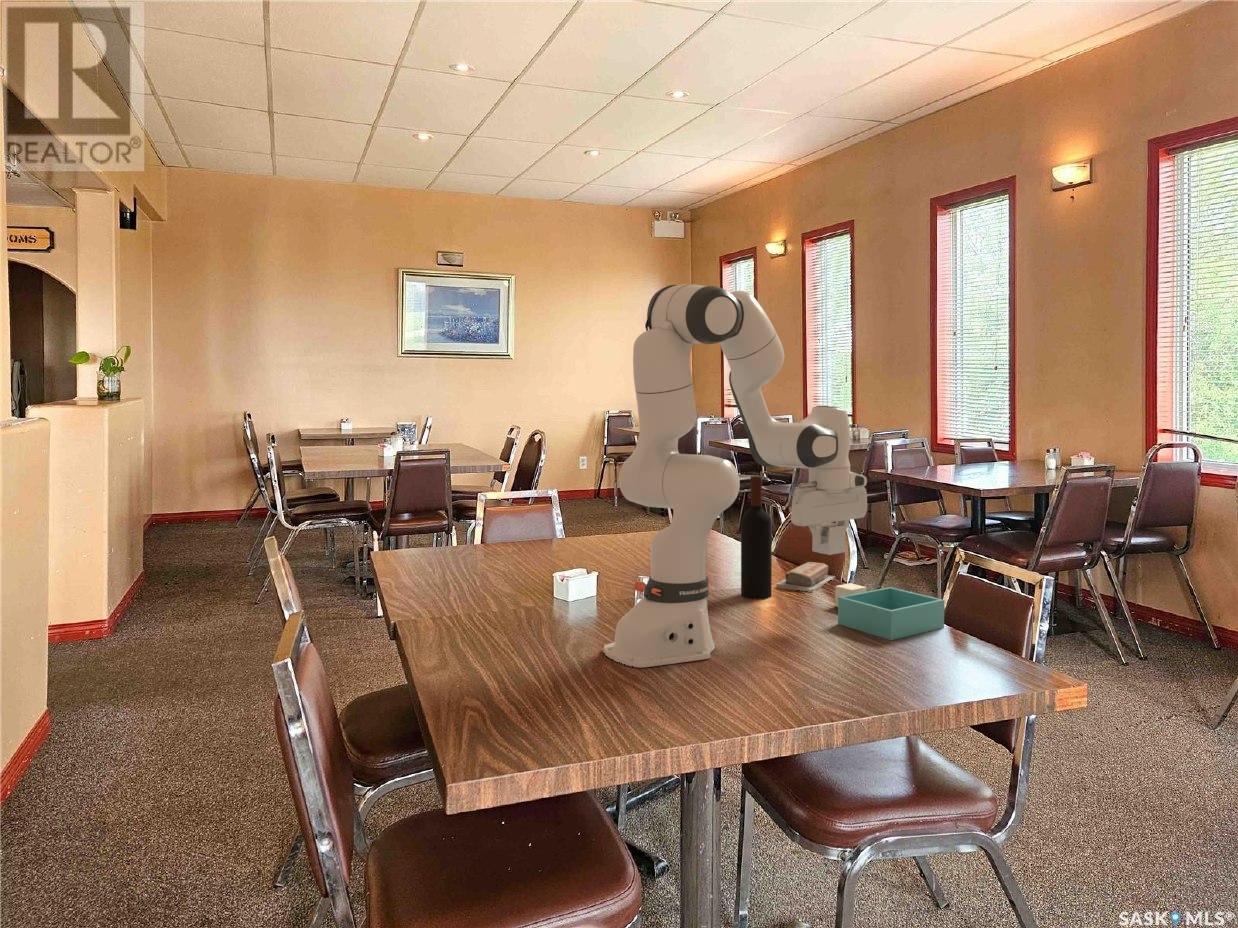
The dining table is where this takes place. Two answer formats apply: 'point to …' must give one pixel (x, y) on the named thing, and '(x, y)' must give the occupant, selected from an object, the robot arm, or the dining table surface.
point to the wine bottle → (756, 547)
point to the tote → (891, 612)
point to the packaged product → (806, 577)
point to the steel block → (831, 539)
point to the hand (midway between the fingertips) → (829, 542)
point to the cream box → (848, 590)
